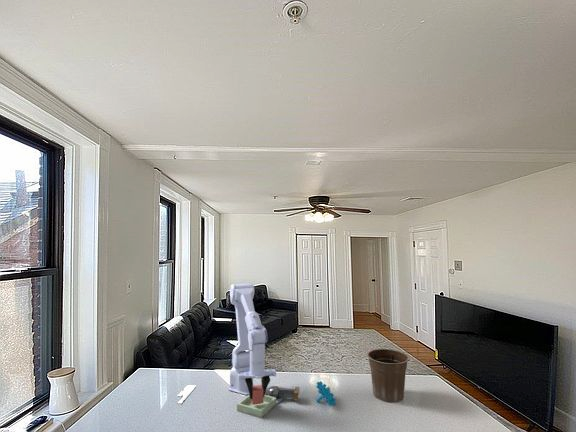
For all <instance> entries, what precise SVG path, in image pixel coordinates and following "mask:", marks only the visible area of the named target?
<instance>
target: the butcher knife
mask: <svg viewBox="0 0 576 432" xmlns="http://www.w3.org/2000/svg"><path fill="white" fill-rule="evenodd" d="M196 388H197V385H194V384H192V385H191V384H188V385H186V386H185V387H184V388H183V389H184V390H183V389H182V390H183V391H182V390H181V391H180V393H179V394H177V396H179V398H181V396H182V398H181V399H180V400H178V402H177V403H178V404H177V405H182V404H184V402H185V401H186V399H187V398H188V397H189V396H190V395H191V393H192V392H193V391H194V390H195V389H196ZM184 400H185V401H184ZM183 401H184V402H183Z"/></svg>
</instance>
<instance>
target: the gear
mask: <svg viewBox="0 0 576 432" xmlns="http://www.w3.org/2000/svg"><path fill="white" fill-rule="evenodd" d="M315 387H316V388H317V389H318V390H317V393H318V394H319V395H320V396H319V397H318V398H317V399H316V400H315V401H316V403H319V402H321V401H322V400H324V399H325V403H326V405H328V404H329V406H331V407H333V406H335V405H336V398H335V397H334V396H335V395H334V393H332V392H331V387H330V386H327V384H326V383H323V382H322V381H321V380H320V381H317V382H316V386H315Z"/></svg>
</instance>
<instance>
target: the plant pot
mask: <svg viewBox="0 0 576 432" xmlns="http://www.w3.org/2000/svg"><path fill="white" fill-rule="evenodd" d="M366 354H367V358H368V362H369V366H370V372H371V384H372V385H371V386H372V393H373V396H374V398H377V399H378V400H380V401H382V402H383V401H386V402H387V403H398V402H401V401H403V399H404V397H405V383H406V370H407V369H408V361H409V360H410V359H409V356H408V355H407V354H406V353H405V352H404V353H403V352H401V351H398V350H395V349H390V348H377V349H371V350H370V351H368V352H367V353H366Z"/></svg>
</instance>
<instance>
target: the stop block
mask: <svg viewBox="0 0 576 432" xmlns="http://www.w3.org/2000/svg"><path fill="white" fill-rule="evenodd" d="M252 395H253V397H252V399H251V401H252V404H253V405H255V404H261V403H263V388H262V384H259V385H255V386H253V388H252Z"/></svg>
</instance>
